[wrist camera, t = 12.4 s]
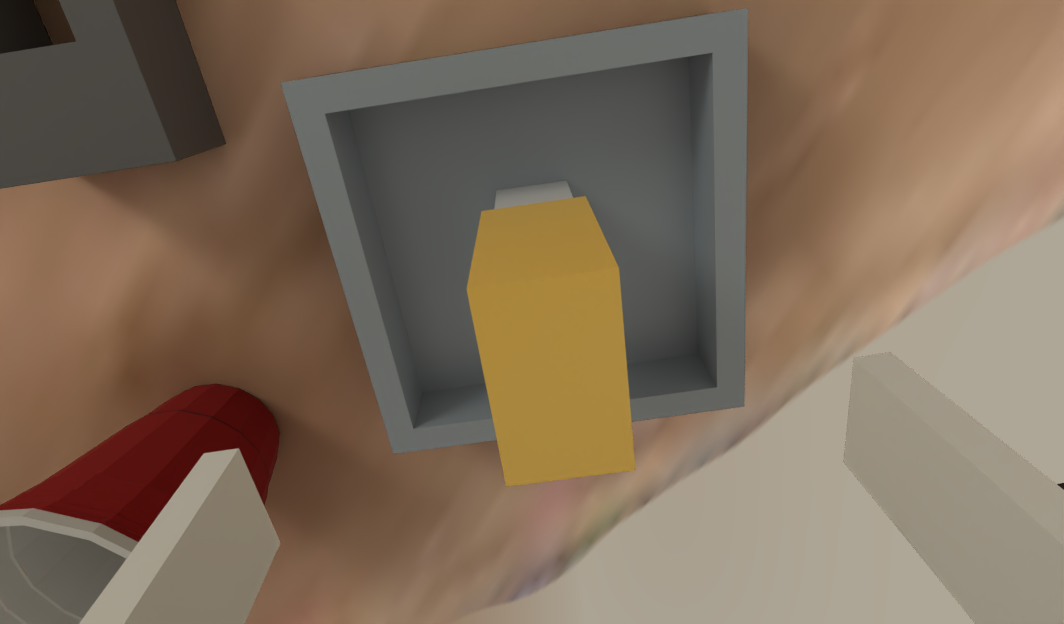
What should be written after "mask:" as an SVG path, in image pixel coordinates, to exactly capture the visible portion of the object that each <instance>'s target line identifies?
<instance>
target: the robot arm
mask: <svg viewBox="0 0 1064 624" xmlns="http://www.w3.org/2000/svg"><path fill="white" fill-rule="evenodd" d="M844 463H845V464H846V465H847V467H848V468H849V469H850V471H851V472H852V473H853V474H854V475H855V477H856V478H857V479H858V480H859V481H860V483H861V484H862V485H863V486H864V488H865V489H866V490H867V491H868V493H869V494H870V495H871V496H872V498H873V499H874V500H875V501H876V502H877V503H878V505H879V506H880V507H881V508H882V510H883V511H884V512H885V513H886V515H887V516H888V517H889V518H890V520H891V521H892V522H893V523H894V525H895V526H896V527H897V528H898V529H899V531H900V532H901V533H902V534H903V536H904V537H905V538H906V539H907V540H908V542H909V543H910V544H911V545H912V547H913V548H914V549H915V550H916V552H917V553H918V554H919V555H920V556H921V558H922V559H923V560H924V561H925V563H926V564H927V565H928V566H929V567H930V569H931V570H932V571H933V572H934V574H935V575H936V576H937V577H938V578H939V580H940V581H941V582H942V583H943V585H944V586H945V587H946V588H947V589H948V591H949V592H950V593H951V594H952V596H953V597H954V598H955V599H956V600H957V602H958V603H959V604H960V605H961V607H962V608H963V609H964V610H965V612H966V613H967V614H968V615H969V617H970V618H971V619H972V620H973V621H974V623H975V624H1064V483H1061V484H1056V483H1055V482H1053V481H1052V480H1051V479H1049V478H1048V477H1047V476H1046V475H1044V474H1043V473H1042V472H1041V471H1039V470H1038V469H1037V468H1036V467H1034V466H1033V465H1032V464H1031V463H1029V462H1028V461H1027V460H1026V459H1024V458H1023V457H1022V456H1021V455H1019V454H1018V453H1017V452H1015V451H1014V450H1013V449H1012V448H1010V447H1009V446H1008V445H1007V444H1005V443H1004V442H1003V441H1001V440H1000V439H999V438H998V437H997V436H995V435H994V434H993V433H992V432H990V431H989V430H988V429H987V428H985V427H984V426H982V424H980V423H979V422H977V421H976V420H975V419H974V418H973V417H971V416H970V415H969V414H968V413H966V412H965V411H964V410H963V409H961V408H960V407H959V406H958V405H956V404H955V403H954V402H952V401H951V400H950V399H949V398H947V397H946V396H945V395H944V394H942V393H941V392H940V391H939V390H937V389H936V388H935V387H934V386H932V385H931V384H930V383H929V382H927V381H926V380H925V379H924V378H922V377H921V376H920V375H919V374H917V373H916V372H915V371H914V370H912V369H911V368H910V367H908V366H907V365H906V364H905V363H904V362H902V361H901V360H900V359H898V358H897V357H896V356H895V355H893V354H892V353H891V352H889V353H881V354H875V355H868V356H861V357H854V360H853V371H852V381H851V391H850V401H849V412H848V422H847V432H846V441H845V452H844ZM279 545H280V541H279V539H278V536H277V534H276V532H275V529H274V527H273V525H272V523H271V520H270V518H269V516H268V513H267V511H266V509H265V507H264V504H263V502H262V500H261V498H260V495H259V493H258V491H257V488H256V486H255V484H254V482H253V479H252V477H251V475H250V473H249V470H248V468H247V466H246V463H245V461H244V459H243V457H242V454H241V452H240V450H239V448H237V449H230V450H224V451H217V452H210V453H204V454H203V455H202V456H201V458H200V459H199V461H198V462H197V463H196V465H195V466H194V467H193V469H192V470H191V471H190V473H189V474H188V476H187V477H186V478H185V480H184V481H183V482H182V484H181V485H180V487H179V488H178V489H177V491H176V492H175V493H174V495H173V496H172V497H171V499H170V500H169V502H168V503H167V504H166V506H165V507H164V508H163V510H162V511H161V512H160V514H159V515H158V517H157V518H156V519H155V521H154V522H153V523H152V525H151V526H150V527H149V529H148V530H147V532H146V533H145V534H144V536H143V537H142V538H141V540H140V541H139V543H138V544H137V545H136V547H135V548H134V549H133V551H132V552H131V553H130V555H129V556H128V558H127V559H126V560H125V562H124V563H123V564H122V566H121V567H120V568H119V570H118V571H117V573H116V574H115V575H114V577H113V578H112V579H111V581H110V582H109V583H108V585H107V586H106V588H105V589H104V590H103V592H102V593H101V594H100V596H99V597H98V599H97V600H96V601H95V603H94V604H93V605H92V607H91V608H90V609H89V611H88V612H87V614H86V615H85V616H84V618H83V619H82V620H81V622H80V623H79V624H245V621H246V619H247V617H248V615H249V612H250V610H251V608H252V606H253V603H254V601H255V599H256V597H257V595H258V592H259V590H260V588H261V586H262V583H263V581H264V579H265V577H266V574H267V572H268V570H269V568H270V565H271V563H272V561H273V559H274V556H275V554H276V552H277V550H278V548H279Z"/></svg>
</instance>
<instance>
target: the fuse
mask: <svg viewBox="0 0 1064 624" xmlns="http://www.w3.org/2000/svg"><path fill="white" fill-rule="evenodd" d="M467 294H468V299H469V304H470V309H471V314H472V319H473V324H474V329H475V334H476V339H477V344H478V349H479V354H480V359H481V364H482V368H483V373H484V378H485V383H486V388H487V393H488V398H489V403H490V408H491V413H492V418H493V423H494V428H495V433H496V438H497V443H498V448H499V452H500V457H501V462H502V467H503V472H504V477H505V482H506V487H508V486H515V485H523V484H531V483H539V482H546V481H554V480H562V479H570V478H578V477H585V476H593V475H601V474H609V473H616V472H624V471H632V470H635V458H634V446H633V434H632V422H631V410H630V397H629V385H628V373H627V361H626V349H625V336H624V324H623V312H622V300H621V287H620V275H619V267H618V265H617V263H616V261H615V258H614V256H613V254H612V252H611V250H610V248H609V245H608V243H607V241H606V239H605V237H604V235H603V233H602V230H601V228H600V226H599V224H598V222H597V220H596V217H595V215H594V213H593V211H592V209H591V207H590V205H589V202H588V200H587V198H586V196H582V197H576V198H573V196H572V193H571V191H570V188H569V186H568V183H567V180H566V181H559V182H552V183H545V184H538V185H531V186H525V187H518V188H511V189H504V190H497V191H496V198H495V207H494V209H493V210H486V211H481V216H480V221H479V226H478V232H477V237H476V242H475V247H474V253H473V258H472V263H471V268H470V274H469V279H468V284H467Z"/></svg>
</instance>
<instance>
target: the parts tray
mask: <svg viewBox="0 0 1064 624" xmlns="http://www.w3.org/2000/svg"><path fill="white" fill-rule="evenodd" d="M747 76H748V8H745V9H738V10H731V11H724V12H717V13H710V14H704V15H698V16H692V17H685V18H679V19H673V20H667V21H660V22H654V23H648V24H642V25H635V26H629V27H623V28H616V29H610V30H604V31H598V32H591V33H585V34H579V35H573V36H566V37H560V38H554V39H548V40H541V41H535V42H529V43H523V44H516V45H510V46H504V47H498V48H491V49H485V50H479V51H472V52H466V53H460V54H454V55H447V56H441V57H435V58H429V59H422V60H416V61H410V62H404V63H397V64H391V65H385V66H379V67H372V68H366V69H360V70H353V71H347V72H341V73H335V74H328V75H322V76H316V77H310V78H305V79H299V80H293V81H287V82H282V83H281V86H282V90H283V93H284V96H285V100H286V103H287V106H288V109H289V113H290V116H291V119H292V123H293V126H294V129H295V132H296V136H297V139H298V142H299V146H300V149H301V152H302V155H303V159H304V162H305V165H306V169H307V172H308V175H309V178H310V182H311V185H312V188H313V191H314V195H315V198H316V201H317V205H318V208H319V211H320V214H321V218H322V221H323V224H324V228H325V231H326V234H327V237H328V241H329V244H330V247H331V251H332V254H333V257H334V260H335V264H336V267H337V270H338V274H339V277H340V280H341V283H342V287H343V290H344V293H345V297H346V300H347V303H348V306H349V310H350V313H351V316H352V320H353V323H354V326H355V329H356V333H357V336H358V339H359V343H360V346H361V349H362V352H363V356H364V359H365V362H366V366H367V369H368V372H369V375H370V379H371V382H372V385H373V389H374V392H375V395H376V398H377V402H378V405H379V408H380V412H381V415H382V418H383V421H384V425H385V428H386V431H387V435H388V438H389V441H390V444H391V448H392V451H393V454H398V453H405V452H413V451H420V450H427V449H435V448H442V447H449V446H457V445H464V444H471V443H479V442H486V441H494V440H497V438H496V433H495V428H494V423H493V418H492V413H491V408H490V403H489V398H488V393H487V388H486V383H485V378H484V373H483V368H482V364H481V359H480V354H479V349H478V344H477V339H476V334H475V329H474V324H473V319H472V314H471V309H470V304H469V299H468V294H467V284H468V279H469V274H470V268H471V263H472V258H473V253H474V247H475V242H476V237H477V232H478V226H479V221H480V216H481V211H486V210H493V209H494V207H495V198H496V191H497V190H504V189H511V188H518V187H525V186H531V185H538V184H545V183H552V182H559V181H566V180H567V183H568V186H569V188H570V191H571V193H572V196H573V198H576V197H582V196H586V198H587V200H588V202H589V205H590V207H591V209H592V211H593V213H594V215H595V217H596V220H597V222H598V224H599V226H600V228H601V230H602V233H603V235H604V237H605V239H606V241H607V243H608V245H609V248H610V250H611V252H612V254H613V256H614V258H615V261H616V263H617V265H618V267H619V275H620V287H621V300H622V312H623V324H624V336H625V349H626V361H627V373H628V385H629V397H630V410H631V422H633V421H641V420H648V419H655V418H663V417H670V416H677V415H685V414H692V413H699V412H707V411H714V410H721V409H729V408H736V407H743V406H744V385H745V282H746V179H747Z"/></svg>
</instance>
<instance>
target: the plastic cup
mask: <svg viewBox="0 0 1064 624" xmlns="http://www.w3.org/2000/svg"><path fill="white" fill-rule="evenodd" d="M279 433H280V432H279V430H278V427H277V424H276V421H275V419H274V416H273V415H272V413H271V412H270V411H269V410H268V409H267V408H266V407H265V406H264V405H263V404H262V402H261V401H260V400H259V399H257V398H255V397H253V396H251V395H250V394H248V393H246V392H244V391H242V390H241V389H239V388H234V387H229V386H224V385H220V384H211V385H203V386H195V387H193V388H191V389H190V390H186V391H184V392H182V393H180V394H178V395H177V396H175V397H173V398H171V399H170V400H168V401H166V402H165V403H163V404H162V405H161V406H159V407H158V408H156V409H155V410H153V411H152V412H150V413H149V414H148V415H146V416H144V417H142V418H140V419H139V420H137V421H135V422H133V423H132V424H130V425H128V426H126V427H125V428H123V429H122V430H120V431H119V432H117V433H116V434H114V435H113V436H111V437H110V438H108V439H107V440H105V441H104V442H102V443H101V444H99V445H98V446H96V447H95V448H93V449H92V450H90V451H89V452H87V453H86V454H84V455H83V456H81V457H80V458H78V459H76V460H75V461H73V462H72V463H70V464H69V465H67V466H66V467H64V468H63V469H61V470H60V471H58V472H57V473H55V474H54V475H52V476H51V477H49V478H48V479H46V480H45V481H43V482H42V483H40V484H38V485H36V486H34V487H33V488H31V489H29V490H27V491H25V492H23V493H21V494H20V495H18V496H16V497H15V498H13V499H11V500H9V501H7V502H5V503H4V504H2V505H0V624H79V623H80V622H81V620H82V619H83V618H84V616H85V615H86V614H87V612H88V611H89V609H90V608H91V607H92V605H93V604H94V603H95V601H96V600H97V599H98V597H99V596H100V594H101V593H102V592H103V590H104V589H105V588H106V586H107V585H108V583H109V582H110V581H111V579H112V578H113V577H114V575H115V574H116V573H117V571H118V570H119V568H120V567H121V566H122V564H123V563H124V562H125V560H126V559H127V558H128V556H129V555H130V553H131V552H132V551H133V549H134V548H135V547H136V545H137V544H138V543H139V541H140V540H141V538H142V537H143V536H144V534H145V533H146V532H147V530H148V529H149V527H150V526H151V525H152V523H153V522H154V521H155V519H156V518H157V517H158V515H159V514H160V512H161V511H162V510H163V508H164V507H165V506H166V504H167V503H168V502H169V500H170V499H171V497H172V496H173V495H174V493H175V492H176V491H177V489H178V488H179V487H180V485H181V484H182V482H183V481H184V480H185V478H186V477H187V476H188V474H189V473H190V471H191V470H192V469H193V467H194V466H195V465H196V463H197V462H198V461H199V459H200V458H201V456H202V455H203V454H204V453H210V452H217V451H224V450H230V449H237V448H239V450H240V452H241V454H242V457H243V459H244V461H245V463H246V466H247V468H248V470H249V473H250V475H251V477H252V479H253V482H254V484H255V486H256V488H257V491H258V493H259V495H260V498H261V500H262V502H263V504H264V505H265V501H266V498H267V491H268V485H269V482H270V478H271V475H272V472H273V469H274V466H275V462H276V459H277V453H278V445H279Z"/></svg>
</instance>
